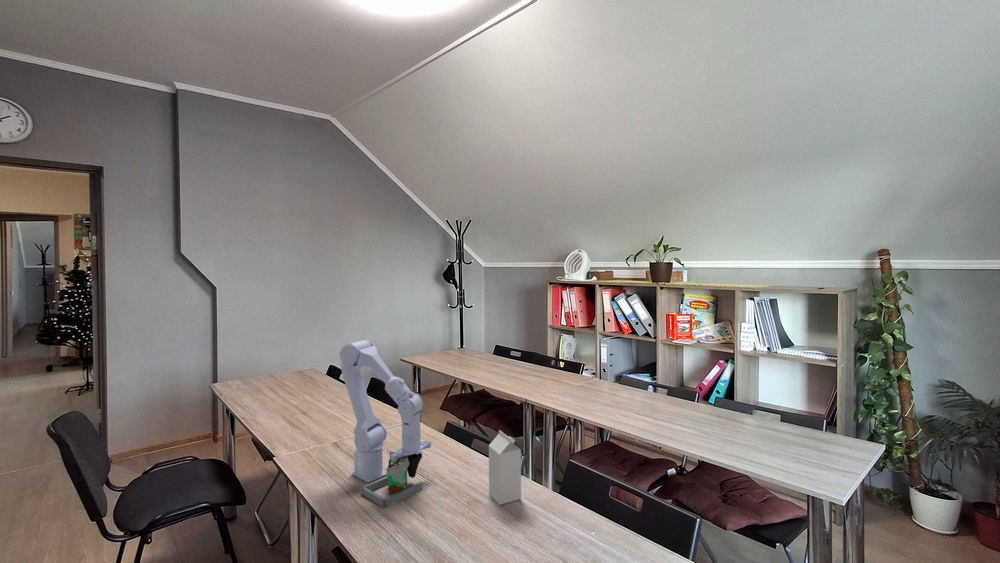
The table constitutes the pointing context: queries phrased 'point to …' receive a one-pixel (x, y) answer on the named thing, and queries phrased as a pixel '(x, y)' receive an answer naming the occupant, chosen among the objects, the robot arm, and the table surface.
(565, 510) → the table surface
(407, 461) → the food container
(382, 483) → the u-shaped bracket
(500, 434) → the milk carton
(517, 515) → the table surface
